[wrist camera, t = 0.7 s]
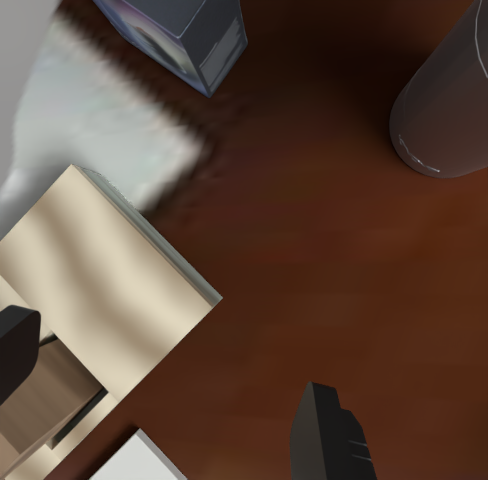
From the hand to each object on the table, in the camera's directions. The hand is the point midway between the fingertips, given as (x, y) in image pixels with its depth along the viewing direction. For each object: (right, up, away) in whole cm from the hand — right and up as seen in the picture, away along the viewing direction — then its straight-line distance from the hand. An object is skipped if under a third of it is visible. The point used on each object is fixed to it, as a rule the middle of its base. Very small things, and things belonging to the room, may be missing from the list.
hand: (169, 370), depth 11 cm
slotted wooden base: (-13, -4, +24) cm, 27 cm away
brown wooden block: (-13, -8, +22) cm, 27 cm away
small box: (-3, +22, +23) cm, 32 cm away
